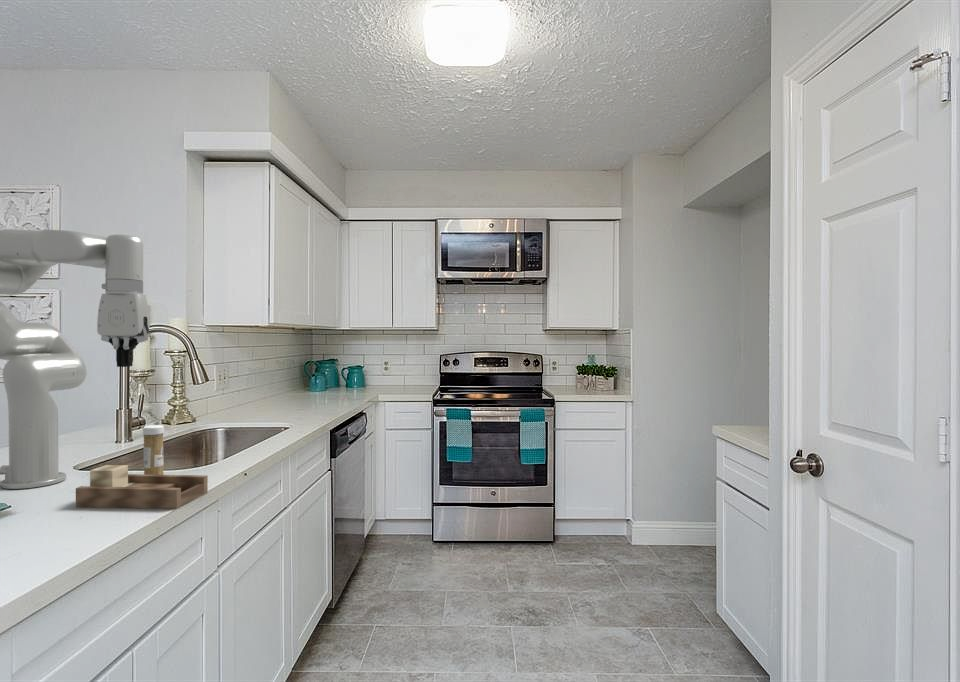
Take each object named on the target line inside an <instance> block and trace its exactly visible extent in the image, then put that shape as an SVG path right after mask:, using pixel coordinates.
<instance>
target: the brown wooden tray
mask: <svg viewBox="0 0 960 682" xmlns="http://www.w3.org/2000/svg"><path fill="white" fill-rule="evenodd" d="M208 482H209V481H208V475H205V474H202V475H195V474H194V475H193V474H192V475H191V474H163V475H144V474H137V473H135V474H133V473H132V474H131V473H130V474H129V473H128V485H127V486H125V487H95V486H90V485H89V486H86V485H85V486H84V485H81V486H78V487H75V508H106V509H107V508H108V509H110V508H111V509H113V508H114V509H155V510H156V509H161V510H163V509H165V510H169V509H170V510H178V509H179V508H182V507H183V506H185V505H187V504H189V503H191V502H193V501H195V500H197V499H198V498H201V497H202V496H204V495H206V494H208V493H209V491H208V488H209V487H208Z"/></svg>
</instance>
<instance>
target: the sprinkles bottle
mask: <svg viewBox="0 0 960 682" xmlns="http://www.w3.org/2000/svg"><path fill="white" fill-rule="evenodd" d="M164 428H165V427H164V425H162V424H161V425H160V424H155V425H154V424H152V425H146V426H144V427H143V428H142V434H143V475H164V464H165V463H164V460H165V459H164V433H165V429H164Z"/></svg>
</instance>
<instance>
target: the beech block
mask: <svg viewBox="0 0 960 682" xmlns="http://www.w3.org/2000/svg"><path fill="white" fill-rule="evenodd" d="M128 474H129V465H127V464H126V465H125V464H124V465H123V464H122V465H121V464H120V465H119V464H116V465H115V464H105V465H103V466H99V467H96V468H93V469H90V470H89V486H95V487H125V486H127V485H128Z"/></svg>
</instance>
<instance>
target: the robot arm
mask: <svg viewBox="0 0 960 682" xmlns="http://www.w3.org/2000/svg"><path fill="white" fill-rule="evenodd" d="M143 242H144V241H143V240H142V239H141V238H140V237H137V236H135V235H129V234H111V235H108V236H106V237H105V236H100V235H95V234H90V233H86V232H80V231H74V230H66V229H65V230H61V229H41V230H33V229H18V228H17V229H14V228H12V229H11V228H6V229H5V228H3V229H0V295H8V296H12V295H13V296H15V295H21V294H23V293H25V292H26V291H28V290H29V289H30V288H32V287H33V286H34V284H36V282H38V280H40V279H41V277H43V275H45V274H46V272H48V271H49V269H50V268H52V267H53V266H56V265H58V264H65V265H75V266H84V267H91V268H95V269H96V268H97V269H102V270H103V269H104V271H105V274H104V275H105V283H102V284H101V288H102V290H105V291H104V293H101V296H100V300H99V304H98V310H97V311H98V312H97V318H96V319H97V322H96V327H97V328H96V331H97V332H96V333H97V334H98V335H100V336H101V337H100V340H101V341H102V342H107V343H110V345H112V347H113V350H116V351H115V352H116V353H115V354H116V355H115V359H116V360H115V361H116V367H117V368H119V367H120V368H127V367H128V368H129V367H133V364H134V363H133V362H134V350H135V349H136V348H137V346H138V345H139V344H140V343H144V342H147V341H149V333H150V312H149V311H150V310H149V305H148V304H149V303H148V299H147V297H146V296H147V295H146V294H144V243H143ZM0 360H3V361H5V360H6V361H7V362H6V363H5V364H4V366H3V368H2V373H1V374H2V380H3V385H4V388H5V393H6V398H7V407H8V409H7V411H8V412H7V413H8V416H7V417H8V465H7V464H5V465H4V464H3V465H1V466H0V476H1V475H4V479H3V480H1V481H0V487H1V488H3V489H7V490H8V489H9V490H19V489H20V490H21V489H22V490H23V489H31V488H39V487H45V486H51V485H53V484H54V485H55V484H58V483H60V482H63V481H65V480H66V479H67V473H65V472H63V471H59V411H58V410H59V409H58V406H57V403H56V401H55V400H54V398H53V397H52V395H51V393H50V392H54V391H55V392H56V391H64V390H71V389H75V388H78V387H80V385H82V384H83V383H84V381H85V380H86V378H87V367H86V364H85V361H84V360H83V358H82V357H81V356H80V354H79V353H78V351H76V349H75V348H74V346H72V344H71V343H70V342H69V340H68V339H67V338H66V336H65V335H64V334H63V333H62V332H61V331H60V330H59V329H58V328H57V327H55V326H53V325H51V324H48V323H44V322H28V321H27V322H26V321H22V320H19V319H18V318H17V317H16V316H15V315H14V314H13V312H12V311H11V309H9V307H8V306H6V304H5V303H3V302H2V301H0Z"/></svg>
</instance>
